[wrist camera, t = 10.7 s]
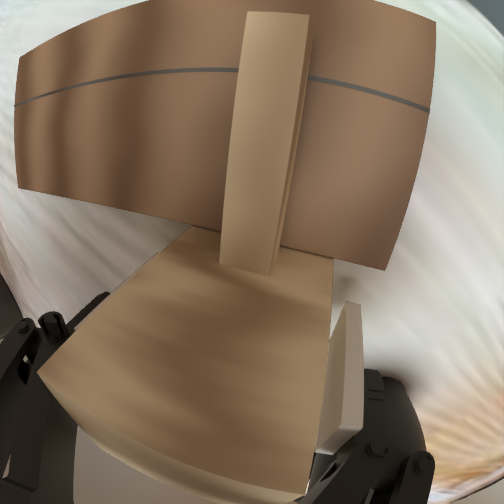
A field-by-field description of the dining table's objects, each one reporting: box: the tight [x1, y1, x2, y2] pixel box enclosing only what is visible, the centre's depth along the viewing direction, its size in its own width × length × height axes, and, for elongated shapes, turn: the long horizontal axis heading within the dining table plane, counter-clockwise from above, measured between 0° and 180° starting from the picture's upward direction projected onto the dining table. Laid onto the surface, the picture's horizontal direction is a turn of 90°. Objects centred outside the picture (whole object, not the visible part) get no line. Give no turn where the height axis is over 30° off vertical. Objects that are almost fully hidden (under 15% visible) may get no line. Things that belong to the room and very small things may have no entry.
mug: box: [293, 376, 427, 504], centre depth 15 cm, size 8×12×10 cm
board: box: [14, 0, 436, 271], centre depth 12 cm, size 28×12×2 cm, turn 83°
